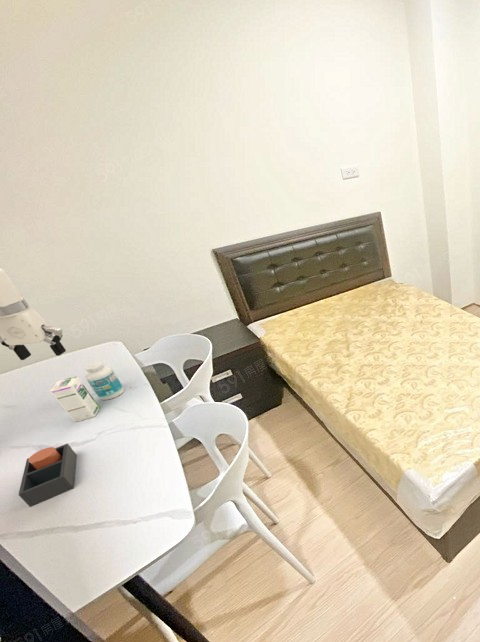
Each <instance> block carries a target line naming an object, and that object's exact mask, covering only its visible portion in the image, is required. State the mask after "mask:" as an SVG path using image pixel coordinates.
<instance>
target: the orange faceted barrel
mask: <svg viewBox="0 0 480 642" xmlns="http://www.w3.org/2000/svg"><path fill="white" fill-rule="evenodd" d="M55 448H56V447H53V446H50V447H45V448H42V449H40V450H38V451H36V452H34V453H33V454H32V455H30V456H29V457H28V458H29V459H28V458H27V459H28V461H29V462H30V463H31V464H32V466H33V467H34V468H35V469H36V470H38V469H40V468H43V467H45V466H48V465H50V464H53V463H55V462H58V461H60V460H62V456H61V455H60V454H59V452H58V451H57V450H56V449H55Z"/></svg>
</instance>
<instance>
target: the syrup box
mask: <svg viewBox="0 0 480 642" xmlns="http://www.w3.org/2000/svg"><path fill="white" fill-rule="evenodd" d="M49 392H50V393H51V395H52V396H53V397H54V398H55V400H56V401H57V402H58V403H59V404H60V406H61V407H62V408H63V409H64V411H65V412H66V413H67V415H68V416H69V417H70V418H71V420H72V421H73V422H74V423H76V422H77V423H78V422H81V421H85V420H86V421H87V420H88V419H92V418H96V415H97V414H98V412H99V410H100V408H101V406H100V405H99V403H98V402H97V401H96V400H95V398H94V397H93V395H92V394H91V393H90V391H89V390H88V389H87V388H86V386H85V385H84V384H83V382H82V381H81V379H80V378H79V377H78V376H73V377H72V376H71V377H68V378H64V379H60V380H57V381H56V382H55V384H54V385H53V386H52V387H51V389H50V390H49Z"/></svg>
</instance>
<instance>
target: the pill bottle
mask: <svg viewBox="0 0 480 642" xmlns="http://www.w3.org/2000/svg"><path fill="white" fill-rule="evenodd" d="M84 369H85V370H86V374H85V380H86V381H87V383H88V384H89V386H90V387H91V389H92V390H93V391H94V393H95V395H96V396H97V398H98V399H99V400H101V401H108V400H111V399H112V400H113V399H115V398H117V397H119V396H121V395H122V394H123V393H124V391H125V387H124V386H123V385H122V382H121V381H120V380H119V378H118V376H117V375H116V373H115V372H114V369H113V368H112V367H111V366H108V365H107V366H106V365H104V363H103V362H101V361H97V362H93V363H90V364H88V365H87V366H86V367H85V368H84Z"/></svg>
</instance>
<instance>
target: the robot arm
mask: <svg viewBox="0 0 480 642" xmlns="http://www.w3.org/2000/svg"><path fill="white" fill-rule="evenodd" d="M62 338H63V329H62V328H60V327H55V326H50V325H49V324H48V323H47V322H46V321H45V319H44V318H43V317H42V316H41V315H40V314H39V313H38V312H37V310H35V309H34V308H33V307H30V305H29V304H28V302H27V301H26V300H25V299H24V297H23V295H22V294H21V293H20V292H19V289H18V288H17V287H16V285H15V284H14V283H13V281H12V279H11V278H10V277H9V276H8V274H7V273H6V271H5V270H4V269H3V268H1V267H0V344H1V345H2V346H3V347H6V348H8V349H9V350H11V351H13V352H14V353H15V355H16V356H17V357H18V358H19V360H20V361H25V360H26V359H28V358H29V357H31V356H32V353H31V352H30V351H29V349H28V348H27V347H26V345H31V344H37V343H41V342H45V343H47V344H49V348H50V349H51V350H52V352H53V353H54V354H55V356H56V357H57V356H58V357H60V356H62V355H63V354H64V353H65V352H67V350H66V348H65V347H64V345H63V344H62V343H61V341H62Z"/></svg>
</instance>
